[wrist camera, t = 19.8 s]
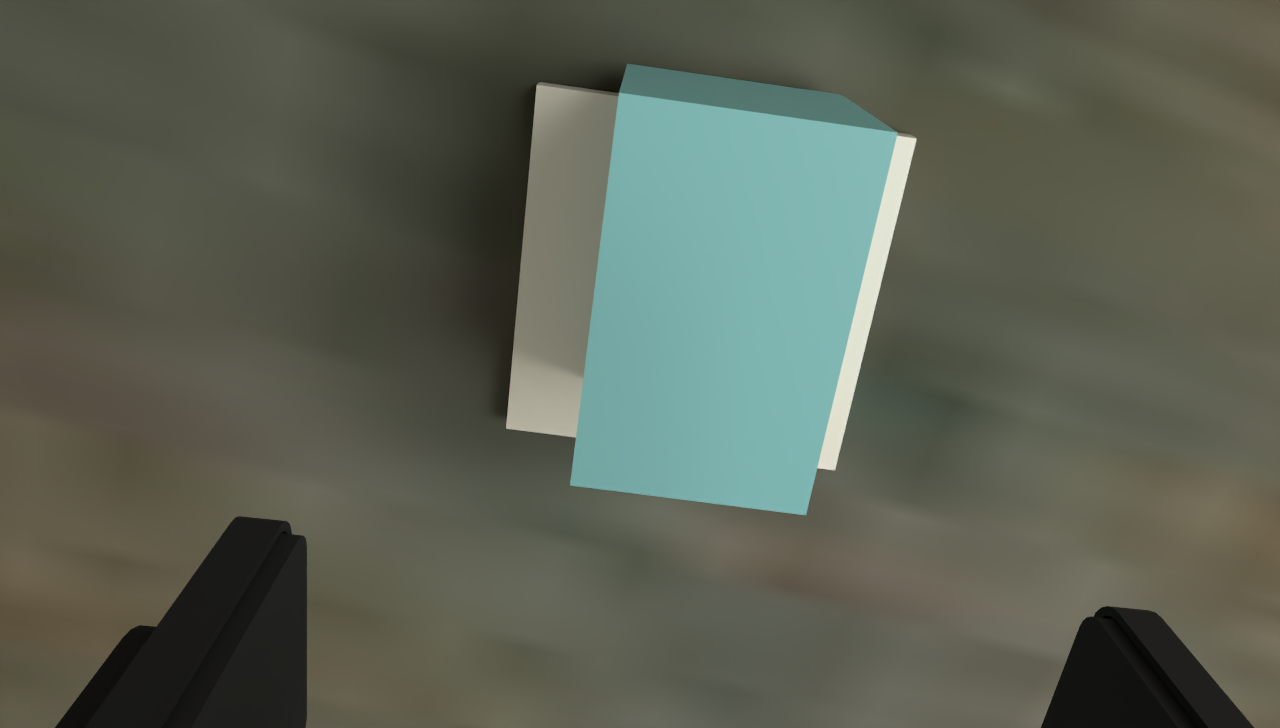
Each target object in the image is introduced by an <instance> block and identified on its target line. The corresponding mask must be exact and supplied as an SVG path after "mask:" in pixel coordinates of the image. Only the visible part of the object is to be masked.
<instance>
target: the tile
mask: <svg viewBox="0 0 1280 728" xmlns="http://www.w3.org/2000/svg"><path fill="white" fill-rule="evenodd" d="M618 96H619V93H614V92H607V91H600V90H593V89H586V88H579V87H572V86H565V85H558V84H551V83H544V82H539V83H538V84H537V87H536V98H535V109H534V121H533V132H532V143H531V154H530V166H529V177H528V188H527V199H526V210H525V222H524V233H523V244H522V255H521V267H520V278H519V289H518V300H517V311H516V323H515V334H514V345H513V356H512V368H511V379H510V390H509V401H508V413H507V424H506V429H514V430H521V431H529V432H537V433H545V434H553V435H561V436H569V437H576V434H577V426H578V418H579V410H580V402H581V394H582V386H583V378H584V370H585V362H586V354H587V346H588V338H589V330H590V322H591V314H592V306H593V298H594V290H595V281H596V273H597V265H598V257H599V249H600V241H601V233H602V225H603V217H604V209H605V201H606V193H607V185H608V177H609V169H610V161H611V153H612V145H613V137H614V129H615V121H616V113H617V105H618ZM916 139H917V138H915V137H914V136H912V135H910V134H904V133H898V134H897V138H896V142H895V146H894V150H893V155H892V159H891V163H890V167H889V171H888V175H887V180H886V184H885V188H884V192H883V196H882V200H881V205H880V209H879V213H878V217H877V221H876V225H875V230H874V234H873V238H872V242H871V246H870V250H869V254H868V259H867V263H866V267H865V271H864V275H863V279H862V284H861V288H860V292H859V296H858V300H857V304H856V309H855V313H854V317H853V321H852V325H851V329H850V334H849V338H848V342H847V346H846V350H845V354H844V359H843V363H842V367H841V371H840V375H839V379H838V384H837V388H836V392H835V396H834V400H833V404H832V409H831V413H830V417H829V421H828V425H827V429H826V434H825V438H824V442H823V446H822V450H821V454H820V458H819V463H818V467H817V468H821V469H829V470H835V468H836V464H837V459H838V455H839V451H840V447H841V443H842V439H843V435H844V431H845V427H846V423H847V419H848V415H849V411H850V407H851V403H852V399H853V395H854V391H855V386H856V382H857V378H858V374H859V370H860V366H861V362H862V358H863V354H864V350H865V346H866V342H867V338H868V334H869V330H870V326H871V322H872V318H873V313H874V309H875V305H876V301H877V297H878V293H879V289H880V285H881V281H882V277H883V273H884V269H885V265H886V261H887V257H888V253H889V249H890V245H891V240H892V236H893V232H894V228H895V224H896V220H897V216H898V212H899V208H900V204H901V200H902V196H903V192H904V188H905V184H906V180H907V176H908V172H909V167H910V163H911V159H912V155H913V151H914V147H915V143H916Z"/></svg>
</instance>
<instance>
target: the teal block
mask: <svg viewBox="0 0 1280 728" xmlns="http://www.w3.org/2000/svg"><path fill="white" fill-rule="evenodd" d="M897 134H898V132H896V131H895V130H893V129H892V128H890V127H889V126H887V125H886V124H884V123H883V122H881V121H880V120H878V119H877V118H875V117H874V116H872V115H871V114H869V113H868V112H866V111H865V110H863V109H862V108H860V107H859V106H857V105H856V104H854V103H853V102H851V101H850V100H848V99H847V98H845V97H844V96H842V95H841V94H834V93H827V92H820V91H813V90H806V89H799V88H792V87H785V86H778V85H771V84H765V83H758V82H751V81H744V80H737V79H730V78H723V77H716V76H709V75H702V74H696V73H689V72H682V71H675V70H668V69H661V68H654V67H647V66H640V65H633V64H627V67H626V70H625V74H624V77H623V80H622V84H621V87H620V91H619V96H618V105H617V113H616V121H615V129H614V137H613V145H612V153H611V161H610V169H609V177H608V185H607V193H606V201H605V209H604V217H603V225H602V233H601V241H600V249H599V257H598V265H597V273H596V281H595V290H594V298H593V306H592V314H591V322H590V330H589V338H588V346H587V354H586V362H585V370H584V378H583V386H582V394H581V402H580V410H579V418H578V426H577V434H576V442H575V450H574V458H573V466H572V475H571V483H570V485H572V486H580V487H587V488H595V489H603V490H611V491H619V492H627V493H635V494H643V495H651V496H659V497H666V498H674V499H682V500H690V501H698V502H706V503H714V504H722V505H730V506H738V507H745V508H753V509H761V510H769V511H777V512H785V513H793V514H801V515H806V513H807V508H808V504H809V500H810V496H811V492H812V488H813V483H814V479H815V475H816V471H817V467H818V463H819V458H820V454H821V450H822V446H823V442H824V438H825V434H826V429H827V425H828V421H829V417H830V413H831V409H832V404H833V400H834V396H835V392H836V388H837V384H838V379H839V375H840V371H841V367H842V363H843V359H844V354H845V350H846V346H847V342H848V338H849V334H850V329H851V325H852V321H853V317H854V313H855V309H856V304H857V300H858V296H859V292H860V288H861V284H862V279H863V275H864V271H865V267H866V263H867V259H868V254H869V250H870V246H871V242H872V238H873V234H874V230H875V225H876V221H877V217H878V213H879V209H880V205H881V200H882V196H883V192H884V188H885V184H886V180H887V175H888V171H889V167H890V163H891V159H892V155H893V150H894V146H895V142H896V138H897Z"/></svg>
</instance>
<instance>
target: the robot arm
mask: <svg viewBox="0 0 1280 728" xmlns="http://www.w3.org/2000/svg"><path fill="white" fill-rule="evenodd" d="M306 718H307V544H306V539H305V537H304V536H300V535H292V532H291V527H290V524H289V523H288V522H287V521H279V520H269V519H260V518H250V517H236V518H235V519H234V520H233V521H232V522H231V523H230V525H229V526H228V527H227V529H226V530H225V532H224V533H223V534H222V536H221V537H220V539H219V540H218V541H217V543H216V544H215V546H214V547H213V548H212V550H211V551H210V553H209V554H208V555H207V557H206V558H205V560H204V561H203V562H202V564H201V565H200V567H199V568H198V569H197V571H196V572H195V574H194V575H193V576H192V578H191V579H190V581H189V582H188V584H187V585H186V586H185V588H184V589H183V591H182V592H181V593H180V595H179V596H178V598H177V599H176V600H175V602H174V603H173V605H172V606H171V607H170V609H169V610H168V612H167V613H166V614H165V616H164V617H163V619H162V620H161V621H160V623H159V624H158V626H157V627H151V626H141V625H139V626H137V627H135V628H133V629H131V630H130V631H129V632H128V633H127V634H126V635H125V636H124V637H123V638H122V639H121V641H120V642H119V643H118V645H117V646H116V647H115V649H114V650H113V651H112V653H111V654H110V655H109V657H108V658H107V659H106V661H105V662H104V663H103V665H102V666H101V667H100V669H99V670H98V671H97V673H96V674H95V675H94V677H93V678H92V679H91V681H90V682H89V683H88V685H87V686H86V687H85V689H84V690H83V691H82V693H81V694H80V695H79V697H78V698H77V699H76V701H75V702H74V703H73V705H72V706H71V707H70V709H69V710H68V711H67V713H66V714H65V715H64V717H63V718H62V719H61V721H60V722H59V723H58V725H57V726H56V727H55V728H305V727H306ZM1041 728H1254V727H1253V726H1252V725H1251V723H1250V722H1249V721H1248V720H1247V719H1246V718H1245V716H1244V715H1243V714H1242V713H1241V712H1240V710H1239V709H1238V708H1237V707H1236V706H1235V704H1234V703H1233V702H1232V701H1231V700H1230V698H1229V697H1228V696H1227V695H1226V694H1225V693H1224V691H1223V690H1222V689H1221V688H1220V687H1219V685H1218V684H1217V683H1216V682H1215V681H1214V679H1213V678H1212V677H1211V676H1210V675H1209V674H1208V672H1207V671H1206V670H1205V669H1204V668H1203V666H1202V665H1201V664H1200V663H1199V662H1198V660H1197V659H1196V658H1195V657H1194V656H1193V655H1192V653H1191V652H1190V651H1189V650H1188V649H1187V647H1186V646H1185V645H1184V644H1183V643H1182V641H1181V640H1180V639H1179V638H1178V637H1177V636H1176V634H1175V633H1174V632H1173V631H1172V630H1171V628H1170V627H1169V626H1168V625H1167V624H1166V622H1165V621H1164V620H1163V619H1162V618H1161V617H1160V616H1159V615H1158V614H1156V613H1155V612H1152V611H1148V610H1139V609H1129V608H1119V607H1110V606H1106V607H1102V608H1100V609H1099V610H1098V611H1097V612H1096V613H1095V615H1094V617H1087V618H1086V619H1085V620H1083V622H1082V623H1081V625H1080V627H1079V630H1078V632H1077V635H1076V638H1075V640H1074V643H1073V646H1072V648H1071V651H1070V653H1069V656H1068V659H1067V661H1066V664H1065V666H1064V669H1063V672H1062V674H1061V677H1060V679H1059V682H1058V685H1057V687H1056V690H1055V692H1054V695H1053V698H1052V700H1051V703H1050V706H1049V708H1048V711H1047V713H1046V716H1045V719H1044V721H1043V724H1042V726H1041Z"/></svg>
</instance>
